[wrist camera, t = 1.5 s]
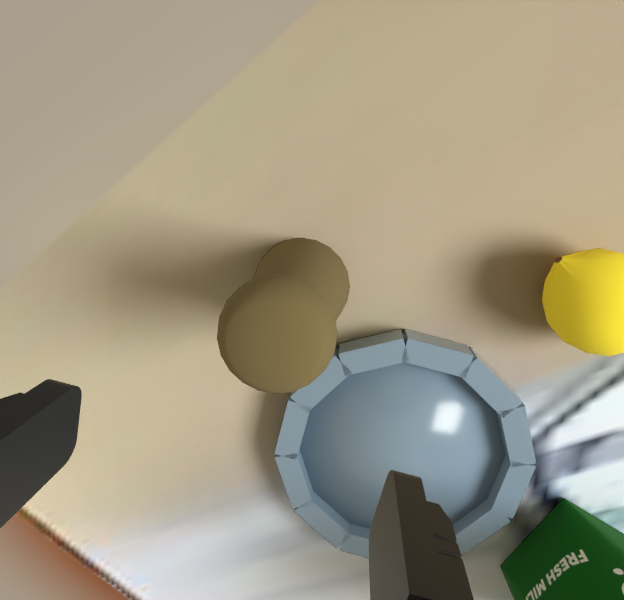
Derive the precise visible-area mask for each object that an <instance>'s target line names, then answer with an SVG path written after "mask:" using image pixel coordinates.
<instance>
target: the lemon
mask: <svg viewBox="0 0 624 600" xmlns="http://www.w3.org/2000/svg"><path fill="white" fill-rule="evenodd" d="M542 304H543V308H544V312H545V316H546V320H547V323H548V324H549V325H550V326H551V328H552V329H553V330H554V331H555V332H556V334H557V335H558V336H559V337H560V338H561V340H562V341H564V342H566V343H568V344H570V345H572V346H574V347H576V348H578V349H580V350H582V351H584V352H586V353H592V354H598V355H605V356H613V355H616V354H620V353H624V254H623V253H619V252H614V251H610V250H605V249H601V248H597V249H591V250H586V251H580V252H576V253H572V254H569V255H565V256H562V257H559V258H557V259H556V260H555V262H554V264H553V266H552V268H551V270H550V272H549V274H548V276H547V277H546V279H545V282H544V289H543V296H542Z"/></svg>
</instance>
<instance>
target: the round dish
mask: <svg viewBox="0 0 624 600" xmlns="http://www.w3.org/2000/svg"><path fill="white" fill-rule="evenodd" d="M274 454H275V460H276V463H277V466H278V469H279V472H280V475H281V478H282V481H283V484H284V487H285V489H286V492H287V495H288V498H289V501H290V504H291V507H292V508H295V510H294V512H295V513H296V514H298V515H299V516H300V517H301V518H302V519H303V520H304V521H305V522H307V523H308V524H309V525H310V526H311V527H312V528H313V529H315V530H316V531H317V532H318V533H319V534H320V535H321V536H323V537H324V538H325V539H326V540H327V541H328V542H329V543H331V544H332V545H333V546H334V547H335V548H337V547H339V546H340V551H344V552H348V553H351V554H355V555H358V556H362V557H366V558H369V536H370V529H371V525H372V521H373V517H374V514H375V511H376V508H377V505H378V502H379V499H380V496H381V493H382V490H383V487H384V484H385V481H386V478H387V475H388V473H389V471H390V470H395V471H398V472H402V473H406V474H410V475H414V476H417V477H420V478H421V479H422V483H423V487H424V492H425V496H426V501H429V502H433V503H437V504H439V505H440V506H441V508H442V509H443V511H444V512H445V513H446V515H447V516H448V518H449V519H450V520H451V522H452V525H453V529H454V532H455V536H456V539H457V541H456V543H457V544H458V546H459V550H460V553H461V554H462V555H464V554H465V553H467V552H468V551H470V550H471V549H473V548H474V547H475V546H477V545H478V544H480V543H481V542H482V541H484V540H485V539H487V538H488V537H489V536H491V535H492V534H494V533H495V532H497V531H498V530H499V529H501V528H502V527H504V526H505V525H506V524H508V523H509V522H510V520H509V518H512V519H513V517H514V515H515V513H516V511H517V508H518V506H519V504H520V501H521V499H522V497H523V495H524V492H525V490H526V488H527V486H528V483H529V481H530V479H531V477H532V474H533V472H534V470H535V465H534V463H536V460H535V455H534V450H533V445H532V440H531V435H530V430H529V425H528V420H527V415H526V410H525V406H524V404H523V402H522V401H521V399H520V398H519V397H518V395H517V394H516V393H515V391H514V390H513V389H512V388H511V387H510V386H509V385H508V384H507V383H506V382H505V381H504V380H503V379H502V378H501V377H500V376H499V375H498V374H497V373H496V372H495V371H494V370H493V369H492V368H491V367H490V366H489V365H488V364H487V363H486V362H485V361H484V360H483V359H482V358H481V357H480V356H479V355H478V354H477V353H476V352H475V351H474V350H473V349H472V348H471V347H470V348H468V346H467V345H464V344H461V343H457V342H453V341H449V340H445V339H442V338H438V337H434V336H430V335H426V334H422V333H419V332H415V331H411V330H407V329H405V330H404V333H402V332H401V329H398V330H394V331H390V332H385V333H381V334H377V335H373V336H369V337H365V338H360V339H356V340H352V341H348V342H344V343H340V344H339V348H338V347H337V346H335V351H334V355H333V357H332V359H331V361H330V363H329V364H328V366H327V368H326V370H325V371H324V372H323V373H322V374H321V375H320V376H318V377H317V378H316V379H315V380H314V381H313V382H312V383H311V384H310V385H308V386H305V387H303V388H301V389H299V390H296V391H294V392H290V396H289V399H288V403H287V406H286V410H285V414H284V418H283V422H282V426H281V430H280V434H279V438H278V442H277V446H276V449H275V453H274ZM508 517H509V518H508Z"/></svg>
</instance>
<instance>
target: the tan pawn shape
mask: <svg viewBox="0 0 624 600" xmlns="http://www.w3.org/2000/svg"><path fill="white" fill-rule="evenodd" d="M349 288H350V285H349V278H348V272H347V270H346V268H345V266H344V264H343V262H342V260H341V258H340V257H339V256H338V255H337V254H336V253H335V252H334V251H333V250H332V249H331V248H330V247H328V246H326V245H324V244H322V243H320V242H318V241H316V240H311V239H305V238H297V239H291V240H285V241H284V242H282V243H280V244H278V245H276V246H274V247H272V248H271V249H270V250H269V251H268V252H267V253H266V255H265V256H264V257H263V258H262V260H261V262H260V264H259V266H258V268H257V270H256V273H255V275H254V278H253V280H251V281H249V282H247V283H245V284H243V285H242V286H241V287H240V288H239V289H238V290H237V291H236V292H235V293H234V294H233V295H232V296H231V297H230V298H229V299H228V300H227V301H226V304H225V306H224V308H223V310H222V312H221V314H220V317H219V324H218V334H217V340H218V345H219V349H220V354H221V356H222V358H223V360H224V362H225V363H226V365H227V367H228V368H229V370H230V371H231V372H232V373H233V374H234V375H235V376H236V377H237V378H238V379H239V380H241V381H242V382H243V383H245V384H247V385H249V386H251V387H253V388H255V389H257V390H259V391H264V392H270V393H275V394H277V393H286V392H294V391H296V390H299V389H301V388H303V387H305V386H308V385H310V384H311V383H312V382H313V381H314V380H315V379H316V378H317V377H318V376H320V375H321V374H322V373H323V372H324V371H325V370H326V368H327V366H328V364H329V363H330V361H331V359H332V357H333V355H334V351H335V346H336V340H337V327H336V319H337V318H338V316H339V315H340V313H341V311H342V310H343V308H344V306H345V304H346V302H347V299H348V294H349Z"/></svg>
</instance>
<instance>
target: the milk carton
mask: <svg viewBox="0 0 624 600" xmlns="http://www.w3.org/2000/svg"><path fill="white" fill-rule="evenodd" d="M500 567H501V569H502V571H503V574H504V576H505V578H506V581H507V583H508V586H509V588H510V590H511V593H512V595H513V598H514V600H624V534H623V533H621V532H620V531H618V530H616V529H615V528H613V527H611V526H610V525H608V524H606V523H605V522H603V521H601V520H600V519H598V518H596V517H595V516H593V515H591V514H590V513H588V512H586V511H585V510H583V509H581V508H580V507H578V506H576V505H575V504H573V503H571V502H570V501H568V500H566V499H565V498H563V499H562V500H561V501H560V502H559V503H558V505H557V506H556V507H555V508H554V509H553V510H552V511H551V512H550V513H549V514H548V515H547V516H546V517H545V519H544V520H543V521H542V522H541V523H540V524H539V525H538V526H537V527H536V528H535V529H534V530H533V531H532V532H531V534H530V535H529V536H528V537H527V538H526V539H525V540H524V541H523V542H522V543H521V544H520V545H519V546H518V548H517V549H516V550H515V551H514V552H513V553H512V554H511V555H510V556H509V557H508V558H507V559H506V560H505V562H504V563H503V564H502V565H501V566H500Z"/></svg>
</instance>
